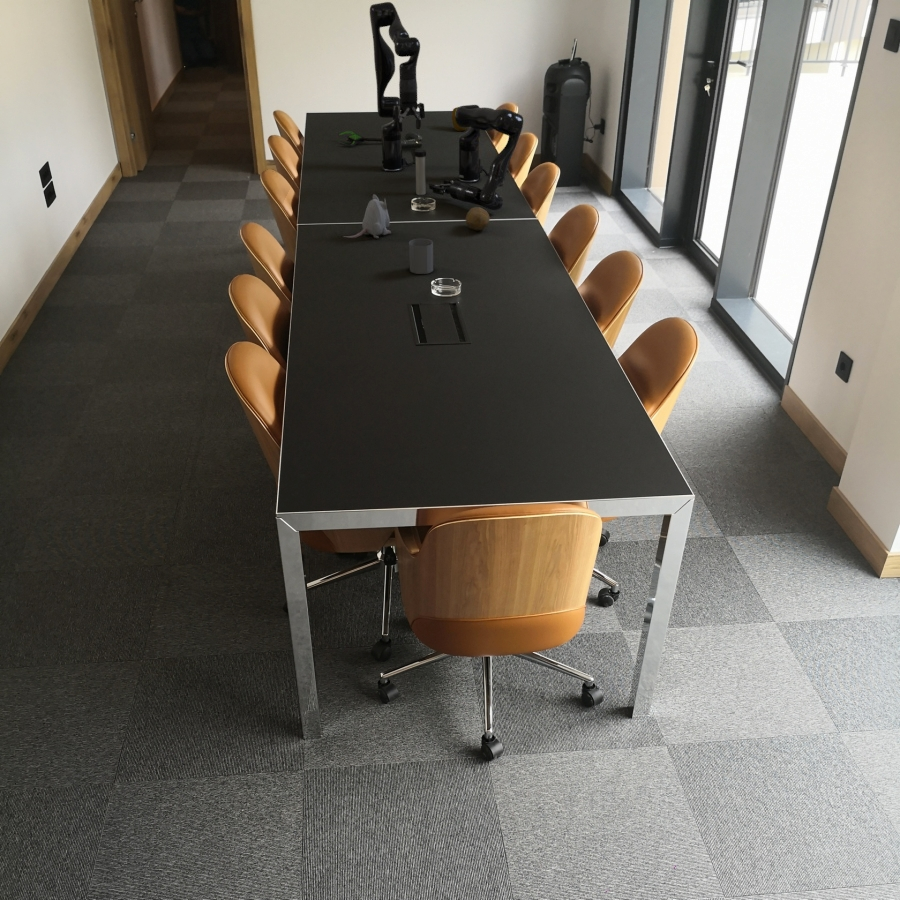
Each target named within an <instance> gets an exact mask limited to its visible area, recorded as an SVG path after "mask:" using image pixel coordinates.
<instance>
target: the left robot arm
mask: <svg viewBox="0 0 900 900" xmlns="http://www.w3.org/2000/svg"><path fill="white" fill-rule="evenodd" d="M396 8H397V7H395V5H394V4H393V3H392V2H390V1H385V2H378V3H374V4H371V5H370V7H369V19H370V21H369V22H370V27H371V33H372V43H373V61H374V70H375V71H374V72H375V80H376V105H377V106H376V107H377V115H378V117H379V118H381V119H382V118H384V119H386V118H387V119H389V118H390V119H392V121H390V122H388V123H386V124H384V125H383V124H382V126H381V138H382V142H381V151H382V152H381V153H382V160H381V164H382V170H383V171H385V172H400V171H402V170H403V166H405V165H407V166H412V165H414V164H416V159H415V160H413V161H411V162H407V160H406V157H404V156H403V148H402V132H403V120H404V119H405V118H406V117H409V116H414V118H415V129H416V130H420V129H421V128H422V120H423V119H424V118H425V117H426V113H425V103H422V102H419V103H418V81H417V80H418V79H417V66H418V59H419V55H420V52H421V43H420V40H419V39H418V38H417V37H413V36H412V37H411V36H410V35H409V33H408V30H406V29H405V27H404V25H403V23H402V21H401V18H400V16H399V14H398V11H397V9H396ZM386 27H388V36H389V38H390V40H391V41H392V43H393V45H394V47H393V48H394V51H393V50H392V48H391V47H390V45H389V44H388V43H387V42H386V40H385V39H384V37H383V35H382V33H381V28H386ZM395 54H396V56H398V57H399V58H400V57H401V58H402V57H403V58H404V57H405V58H406V57H409V59H408V60H406V61H404V62H401V63H400V64H399V66H398V67H399V68H398V71H399V73H398V74H399V81H398V82H399V83H398V89H399V94H398V95H399V96H385V92H386V89H387V87H388V85H389V83H390V81H392V79H393V77H394V75H395V72H396V57H395ZM418 110H419V112H418Z"/></svg>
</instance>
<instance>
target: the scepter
mask: <svg viewBox="0 0 900 900" xmlns="http://www.w3.org/2000/svg"><path fill="white" fill-rule="evenodd" d="M345 134H349V135H347V136H346V138H347V140H346V142H348V143H351V144H346V143H343V142H340V141H338V142H337V143H338V144H340V145H342V146H343V147H349V148H351V147H352V148H353V147H354V146H355V145H358V144H361V143H363V142H380V143H382V137H380V138H377V137H364V136H362V135H360V134H358V133H356V132H355V131H352V130H346V131H343V132H341V133H339V134H338V136H341V135H345Z"/></svg>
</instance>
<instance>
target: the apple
mask: <svg viewBox="0 0 900 900" xmlns="http://www.w3.org/2000/svg"><path fill="white" fill-rule="evenodd" d="M459 107H460V106H457V107H454V108H452V111H451V121H452V125H453V128H454V129H455V131H457V132H463V131H466V130H468V129H469V127H465V128H463V127H460V126H459V125H458V124H457V122H456V120H455V112H456V110H457V109H458V108H459Z"/></svg>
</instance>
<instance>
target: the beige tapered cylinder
mask: <svg viewBox="0 0 900 900" xmlns="http://www.w3.org/2000/svg"><path fill="white" fill-rule="evenodd" d="M414 157H415V160H416V163H415V195H418V196H424V195H426V194H427V191H426V190H427V189H426V188H427V187H426V181H427V180H426V156H424V157H416V156H415V155H414Z"/></svg>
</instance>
